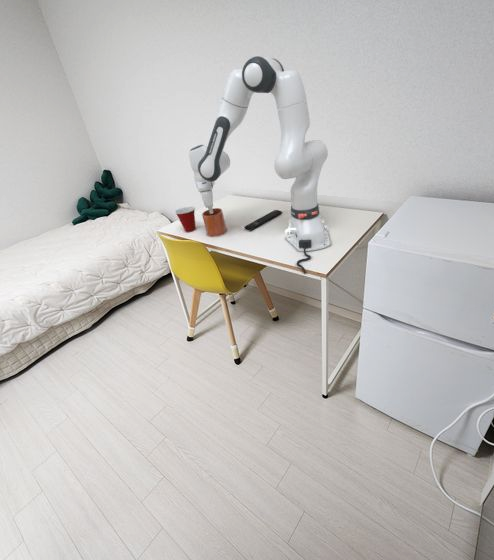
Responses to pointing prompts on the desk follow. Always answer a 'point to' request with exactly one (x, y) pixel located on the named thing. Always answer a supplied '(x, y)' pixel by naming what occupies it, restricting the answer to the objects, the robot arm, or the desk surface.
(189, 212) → the plastic cup
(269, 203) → the desk surface
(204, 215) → the terracotta cup
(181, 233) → the desk surface
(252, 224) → the remote control
